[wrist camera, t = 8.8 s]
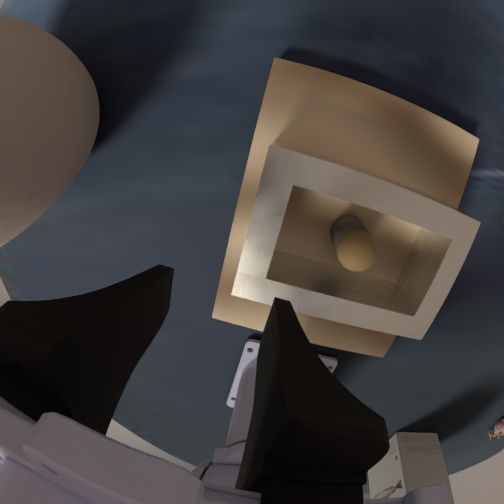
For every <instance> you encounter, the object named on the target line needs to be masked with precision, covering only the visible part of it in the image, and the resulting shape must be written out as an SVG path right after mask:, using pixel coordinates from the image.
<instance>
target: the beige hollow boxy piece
mask: <svg viewBox="0 0 504 504" xmlns="http://www.w3.org/2000/svg"><path fill="white" fill-rule="evenodd" d="M293 185H295V186H298V187H302V188H305V189H309V190H312V191H316V192H319V193H322V194H325V195H329V196H332V197H335V198H338V199H342V200H345V201H348V202H351V203H354V204H357V205H360V206H363V207H366V208H369V209H372V210H375V211H378V212H381V213H384V214H386V215H389V216H392V217H395V218H398V219H400V220H403V221H406V222H409V223H411V224H414V225H417V226H419V227H420V230H419V232H418V235H417V237H416V240H415V242H414V244H413V247H412V249H411V251H410V254H409V256H408V258H407V260H406V263H405V265H404V267H403V269H402V271H401V274H400V276H399V278H398V280H397V282H396V283H392V282H389V281H385V280H382V279H378V278H375V277H371V276H368V275H364V274H360V273H357V272H353V271H350V270H346V269H343V268H339V267H335V266H332V265H328V264H325V263H321V262H317V261H314V260H310V259H307V258H303V257H299V256H296V255H292V254H289V253H285V252H281V251H278V250H274V249H275V245H276V242H277V239H278V235H279V232H280V228H281V225H282V222H283V218H284V215H285V211H286V208H287V204H288V201H289V197H290V194H291V190H292V187H293ZM480 223H481V222H479V221H478V220H476V219H475V218H473V217H471V216H470V215H468V214H467V213H465V212H463V211H462V210H460V209H458V208H457V207H455V206H453V205H452V204H450V203H448V202H446V201H444V200H441V199H439V198H437V197H435V196H432V195H430V194H428V193H425V192H423V191H421V190H418V189H416V188H413V187H411V186H409V185H406V184H404V183H401V182H398V181H396V180H393V179H391V178H388V177H385V176H383V175H380V174H377V173H375V172H372V171H369V170H366V169H363V168H361V167H358V166H355V165H352V164H349V163H346V162H343V161H340V160H337V159H334V158H331V157H327V156H324V155H321V154H318V153H314V152H311V151H308V150H304V149H301V148H297V147H294V146H290V145H286V144H283V143H279V142H275V141H274V142H272V143H271V144H270V145H269V148H268V152H267V155H266V159H265V163H264V167H263V171H262V175H261V179H260V183H259V186H258V190H257V194H256V198H255V202H254V206H253V210H252V214H251V218H250V222H249V226H248V230H247V234H246V238H245V242H244V246H243V250H242V254H241V258H240V262H239V266H238V270H237V274H236V278H235V282H234V286H233V290H232V294H231V295H234V296H238V297H241V298H245V299H249V300H252V301H256V302H260V303H263V304H267V305H271V306H272V304H273V301H274V298H275V297H277V298H280V299H284V300H288V301H290V302H291V304H292V306H293V309H294V311H295V312H298V313H302V314H306V315H310V316H314V317H318V318H323V319H327V320H331V321H335V322H339V323H344V324H348V325H352V326H357V327H361V328H366V329H370V330H375V331H379V332H384V333H389V334H394V335H398V336H403V337H408V338H413V339H418V340H422V338H423V336H424V335H425V333H426V331H427V330H428V328H429V327H430V325H431V323H432V322H433V320H434V318H435V316H436V315H437V313H438V311H439V309H440V308H441V306H442V304H443V302H444V300H445V299H446V297H447V295H448V293H449V291H450V289H451V287H452V285H453V283H454V281H455V279H456V277H457V275H458V273H459V271H460V269H461V267H462V265H463V263H464V261H465V259H466V256H467V254H468V252H469V250H470V247H471V245H472V243H473V240H474V238H475V236H476V233H477V231H478V228H479V226H480Z"/></svg>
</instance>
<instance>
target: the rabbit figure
mask: <svg viewBox="0 0 504 504" xmlns="http://www.w3.org/2000/svg"><path fill="white" fill-rule="evenodd" d="M488 431H489V432H488V434H489V437H490V440H491V436H494V437H495V436H496V435H498V436H499V435H504V418H502V419H500V420H498V421H497V422H496V424H495V432H494V434H493V435H492V434H491V432H490V430H488ZM499 432H502V433H499ZM498 439H499V437H498Z"/></svg>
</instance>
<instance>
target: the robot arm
mask: <svg viewBox="0 0 504 504" xmlns="http://www.w3.org/2000/svg"><path fill="white" fill-rule="evenodd" d="M173 272H174V269H173V268H170V267H167V266H163V265H157V266H155V267H153V268H150V269H148V270H146V271H144V272H142V273H140V274H137V275H135V276H133V277H131V278H128V279H126V280H124V281H121V282H119V283H116V284H113V285H111V286H108V287H106V288H103V289H100V290H96V291H93V292H89V293H86V294H82V295H77V296H72V297H66V298H61V299H53V300H43V301H7V302H6V303H5V304H4V305H2V306H1V307H0V466H1V468H0V504H450V503H449V498H448V494H447V489H446V484H444V483H442V484H435V485H429V486H422V487H419V488H416V489H414V490H412V491H410V492H409V493H407V494H406V495H405V496H404V497H396V498H384V499H367V500H366V499H365V500H363V488H362V485H364V484H366V482H367V477H366V472H367V471H368V470H370V469H371V468H372V467H373V466H375V465H376V464H377V463H378V462H379V461H380V460H382V458H383V457H384V456H385V455H386V454H387V453H388V451H389V448H390V444H389V438H388V431H387V427H386V423H385V420H384V418H383V417H381V416H380V415H379V414H377V413H376V412H374V411H373V410H372V409H370V408H369V407H367V406H366V405H365V404H363V403H362V402H361V401H360V400H359V399H357V398H356V397H355V396H354V395H353V394H352V393H351V392H349V391H348V390H347V389H346V388H345V387H344V386H343V385H342V384H341V383H340V382H339V380H338V379H337V378H336V377H335V376H334V375H333V374H332V373H333V371H334V370H335V368H336V366H337V364H338V362H337V359H336V358H333V357H328V356H324V355H319V354H317V353H316V352H315V350H314V348H313V347H312V345H311V344H310V342H309V340H308V338H307V336H306V334H305V332H304V330H303V328H302V327H301V324H300V322H299V320H298V318H297V316H296V313H295V311H294V309H293V306H292V304H291V302H290V301H288V300H284V299H280V298H277V297H275V298H274V301H273V304H272V307H271V310H270V313H269V316H268V319H267V322H266V324H265V327H264V330H263V333H262V336H261V341H259V340H255V339H248V340H247V341H246V344H245V347H244V350H243V353H242V356H241V360H240V363H239V366H238V369H237V372H236V375H235V378H234V381H233V384H232V387H231V391H230V394H229V397H228V400H227V405H228V406H230V407H233V413H232V417H231V422H230V426H229V431H228V435H227V440H226V444H225V448H216V449H215V453H214V457H213V461H211V460H206V461H203V462H201V463H200V464H199V465H198V466H197V467H196V468H195V469H194V470H193V471H192V473H191V472H190V471H188V470H187V469H185V468H184V467H181V466H179V465H176V464H174V463H171V462H169V461H167V460H165V459H162V458H159V457H156V456H153V455H151V454H148V453H145V452H143V451H140V450H138V449H135V448H132V447H130V446H128V445H125V444H123V443H120V442H118V441H116V440H113V439H111V438H109V437H107V436H105V435H106V432H107V429H108V427H109V424H110V422H111V419H112V417H113V414H114V411H115V409H116V407H117V404H118V402H119V400H120V397H121V395H122V393H123V390H124V388H125V386H126V384H127V382H128V380H129V378H130V376H131V374H132V372H133V370H134V368H135V367H136V365H137V363H138V362H139V360H140V359H141V357H142V356H143V354H144V353H145V351H146V349H147V348H148V346H149V345H150V343H151V342H152V340H153V339H154V337H155V336H156V334H157V333H158V331H159V329H160V328H161V326H162V324H163V322H164V320H165V317H166V315H167V313H168V311H169V306H170V297H171V288H172V280H173ZM248 348H252V350H250V349H248ZM329 366H331V367H329Z"/></svg>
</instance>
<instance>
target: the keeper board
mask: <svg viewBox="0 0 504 504" xmlns="http://www.w3.org/2000/svg"><path fill="white" fill-rule="evenodd" d="M274 141H275V142H279V143H283V144H286V145H290V146H294V147H297V148H301V149H304V150H308V151H311V152H314V153H318V154H321V155H324V156H327V157H331V158H334V159H337V160H340V161H343V162H346V163H349V164H352V165H355V166H358V167H361V168H363V169H366V170H369V171H372V172H375V173H377V174H380V175H383V176H385V177H388V178H391V179H393V180H396V181H398V182H401V183H404V184H406V185H409V186H411V187H413V188H416V189H418V190H421V191H423V192H425V193H428V194H430V195H432V196H435V197H437V198H439V199H441V200H444V201H446V202H448V203H450V204H452V205H453V206H455V207H457V208H458V206H459V204H460V201H461V198H462V195H463V192H464V189H465V186H466V183H467V180H468V177H469V174H470V171H471V167H472V164H473V160H474V157H475V153H476V150H477V146H478V142H479V139H478V138H476V137H475V136H473V135H471V134H470V133H468V132H466V131H465V130H463V129H461V128H459V127H458V126H456V125H454V124H452V123H450V122H449V121H447V120H445V119H443V118H441V117H439V116H437V115H435V114H433V113H431V112H429V111H427V110H425V109H423V108H421V107H419V106H417V105H415V104H412V103H410V102H408V101H406V100H404V99H401V98H399V97H397V96H394V95H392V94H390V93H387V92H385V91H382V90H380V89H377V88H375V87H372V86H369V85H367V84H364V83H361V82H358V81H356V80H353V79H350V78H347V77H344V76H341V75H338V74H335V73H331V72H328V71H325V70H322V69H318V68H315V67H311V66H307V65H304V64H300V63H296V62H292V61H288V60H284V59H279V58H275V57H274V61H273V64H272V68H271V72H270V76H269V79H268V83H267V87H266V91H265V95H264V98H263V102H262V106H261V110H260V114H259V118H258V122H257V126H256V130H255V133H254V137H253V141H252V145H251V150H250V154H249V158H248V162H247V166H246V170H245V174H244V178H243V182H242V186H241V191H240V195H239V199H238V203H237V208H236V212H235V216H234V220H233V225H232V229H231V233H230V238H229V242H228V247H227V251H226V256H225V260H224V264H223V269H222V274H221V278H220V283H219V287H218V292H217V296H216V301H215V306H214V311H213V315H212V318H215V319H219V320H222V321H226V322H229V323H233V324H237V325H240V326H244V327H248V328H251V329H255V330H259V331H263V330H264V327H265V324H266V322H267V319H268V316H269V313H270V310H271V307H272V306H271V305H267V304H263V303H260V302H256V301H252V300H249V299H245V298H241V297H238V296H234V295H231V294H232V290H233V286H234V282H235V278H236V274H237V270H238V266H239V262H240V258H241V254H242V250H243V246H244V242H245V238H246V234H247V230H248V226H249V222H250V218H251V214H252V210H253V206H254V202H255V198H256V194H257V190H258V186H259V183H260V179H261V175H262V171H263V167H264V163H265V159H266V155H267V152H268V148H269V145H270V144H271V143H272V142H274ZM419 230H420V227H419V226H417V225H414V224H411V223H409V222H406V221H403V220H400V219H398V218H395V217H392V216H389V215H386V214H384V213H381V212H378V211H375V210H372V209H369V208H366V207H363V206H360V205H357V204H354V203H351V202H348V201H345V200H342V199H338V198H335V197H332V196H329V195H325V194H322V193H319V192H316V191H312V190H309V189H305V188H302V187H298V186H295V185H293V187H292V190H291V194H290V197H289V201H288V204H287V208H286V211H285V215H284V218H283V222H282V225H281V228H280V232H279V235H278V239H277V242H276V245H275V249H274V250H278V251H281V252H285V253H289V254H292V255H296V256H299V257H303V258H307V259H310V260H314V261H317V262H321V263H325V264H328V265H332V266H335V267H339V268H343V269H346V270H350V271H353V272H357V273H360V274H364V275H368V276H371V277H375V278H378V279H382V280H385V281H389V282H392V283H396V282H397V280H398V278H399V276H400V274H401V271H402V269H403V267H404V265H405V263H406V260H407V258H408V256H409V254H410V251H411V249H412V247H413V244H414V242H415V240H416V237H417V235H418V232H419ZM295 313H296V316H297V318H298V320H299V322H300V324H301V327H302V328H303V330H304V332H305V334H306V336H307V338H308V340H309V342H310V343H313V344H317V345H322V346H326V347H331V348H336V349H341V350H346V351H351V352H356V353H361V354H366V355H371V356H377V357H382V358H383V357H384V355H385V354H386V352H387V351H388V349H389V347H390V346H391V344H392V342H393V341H394V339H395V338H396V336H397V335H394V334H389V333H384V332H379V331H375V330H370V329H366V328H361V327H357V326H352V325H348V324H344V323H339V322H335V321H331V320H327V319H323V318H318V317H314V316H310V315H306V314H302V313H298V312H295Z"/></svg>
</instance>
